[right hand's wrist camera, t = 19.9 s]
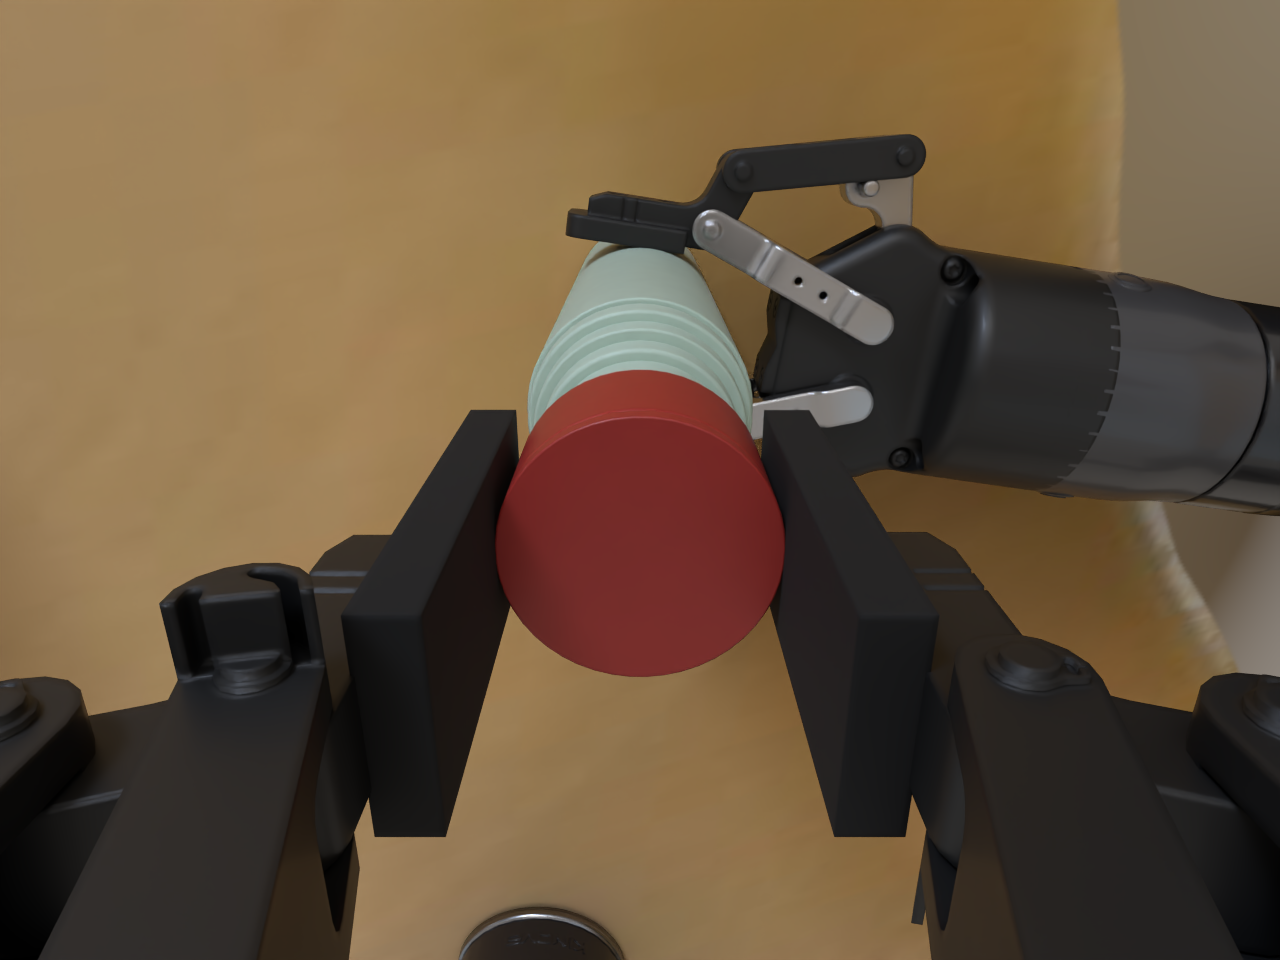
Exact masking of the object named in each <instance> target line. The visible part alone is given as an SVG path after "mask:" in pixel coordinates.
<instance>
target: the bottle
mask: <svg viewBox="0 0 1280 960" xmlns="http://www.w3.org/2000/svg"><path fill="white" fill-rule="evenodd" d="M626 370H655V371H662V372H668V373H672V374H675V375H679V376H682V377H685V378H687V379H690V380H692V381H695V382H697V383H699V384H701V385H703V386H704V387H706V388H708V389H709V390H711V391H713V392H714V393H715V394H717V395H718V396H719V397H720V398H722V399H723V400H724V401H725V402H727V404H728V405H729V406H730V407H731V408H732V409H733V410H734V411H735V412H736V413H737V414H738V415H739V417H740V418H741V420H742V421H743V422H744V424H745V425H746V427H747V429H748V430H749V432H750V434H751V429H752V413H753V396H752V390H751V383H750V379H749V376H748V373H747V369H746V367H745V365H744V363H743V360H742V358H741V356H740V354H739V352H738V350H737V347H736V345H735V343H734V341H733V339H732V337H731V335H730V333H729V331H728V328H727V326H726V324H725V322H724V320H723V318H722V316H721V314H720V311H719V309H718V307H717V305H716V303H715V301H714V299H713V297H712V295H711V292H710V290H709V288H708V286H707V284H706V282H705V280H704V278H703V275H702V273H701V271H700V269H699V267H698V265H697V263H696V261H695V259H694V257H693V255H692V254H691V252H690V251H689V249H688V248H687V247H685V251H684V254H678V253H672V252H665V251H660V250H655V249H650V248H639V247H633V246H626V245H619V244H613V243H606V242H600V241H599V242H598V243H597V244H596V245H595V246H594V247H593V249H592V250H591V251H590V253H589V254H588V256H587V257H586V259H585V261H584V263H583V265H582V268H581V270H580V272H579V274H578V276H577V278H576V280H575V282H574V285H573V287H572V289H571V291H570V293H569V295H568V297H567V299H566V302H565V304H564V306H563V308H562V310H561V312H560V314H559V316H558V319H557V321H556V323H555V325H554V327H553V329H552V331H551V333H550V336H549V338H548V340H547V342H546V344H545V346H544V348H543V350H542V353H541V355H540V357H539V359H538V361H537V363H536V366H535V368H534V371H533V374H532V377H531V381H530V386H529V392H528V426H529V434H530V433H531V431H532V429H533V428H534V426H535V424H536V423H537V421H538V420H539V419H540V417H541V416H542V415H543V414H544V412H545V411H546V410H547V409H548V408H549V407H550V406H551V405H552V404H553V403H554V402H555V401H556V400H557V399H558V398H560V397H561V396H563V395H564V394H565V393H567V392H568V391H569V390H571V389H573V388H574V387H576V386H578V385H580V384H582V383H583V382H585V381H588V380H591V379H593V378H596V377H598V376H601V375H605V374H609V373H613V372H617V371H626Z"/></svg>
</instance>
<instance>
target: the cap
mask: <svg viewBox="0 0 1280 960" xmlns="http://www.w3.org/2000/svg"><path fill="white" fill-rule="evenodd" d="M495 552H496V565H497V571H498V576H499V579H500V582H501V585H502V588H503V591H504V593H505V595H506V597H507V599H508V601H509V603H510V605H511V607H512V609H513V610H514V612H515V613H516V614H517V616H518V617H519V619H520V620H521V622H522V623H523V624H524V625H525V626H526V627H527V628H528V630H529V631H530V632H531V633H532V634H533V635H534V636H535V637H536V638H537V639H539V640H540V641H541V642H542V643H543V644H545V645H546V646H547V647H548V648H550V649H551V650H553V651H554V652H556V653H558V654H559V655H561V656H562V657H564V658H566V659H568V660H570V661H572V662H574V663H576V664H578V665H581V666H584V667H587V668H589V669H592V670H595V671H600V672H604V673H608V674H613V675H621V676H629V677H650V676H660V675H667V674H672V673H677V672H682V671H685V670H688V669H691V668H694V667H697V666H700V665H702V664H704V663H706V662H708V661H710V660H713V659H715V658H716V657H718V656H720V655H721V654H723V653H724V652H726V651H728V650H729V649H731V648H732V647H733V646H734V645H736V644H737V643H738V642H740V641H741V640H742V639H743V638H744V637H745V636H746V635H747V634H748V633H749V632H750V631H751V630H752V629H753V628H754V627H755V626H756V625H757V623H758V622H759V621H760V619H761V618H762V617H763V615H764V614H765V613H766V611H767V609H768V607H769V606H770V604H771V602H772V600H773V599H774V597H775V594H776V591H777V589H778V586H779V584H780V581H781V577H782V573H783V567H784V554H785V528H784V523H783V519H782V514H781V511H780V508H779V506H778V503H777V500H776V497H775V495H774V492H773V490H772V487H771V484H770V482H769V479H768V476H767V474H766V471H765V469H764V466H763V463H762V461H761V458H760V456H759V453H758V450H757V448H756V445H755V442H754V440H753V438H752V436H751V434H750V432H749V430H748V429H747V427H746V425H745V424H744V422H743V421H742V420H741V418H740V417H739V415H738V414H737V413H736V412H735V411H734V410H733V409H732V408H731V407H730V406H729V405H728V404H727V402H725V401H724V400H723V399H722V398H720V397H719V396H718V395H717V394H715V393H714V392H713V391H711V390H709V389H708V388H706V387H704V386H703V385H701V384H699V383H697V382H695V381H692V380H690V379H687V378H685V377H682V376H679V375H675V374H672V373H668V372H662V371H655V370H626V371H617V372H613V373H609V374H605V375H601V376H598V377H596V378H593V379H591V380H588V381H585V382H583V383H582V384H580V385H578V386H576V387H574V388H573V389H571V390H569V391H568V392H567V393H565V394H564V395H563V396H561V397H560V398H558V399H557V400H556V401H555V402H554V403H553V404H552V405H551V406H550V407H549V408H548V409H547V410H546V411H545V412H544V414H543V415H542V416H541V417H540V419H539V420H538V421H537V423H536V424H535V426H534V428H533V429H532V431H531V433H530V435H529V436H528V439H527V441H526V444H525V446H524V449H523V451H522V454H521V457H520V459H519V462H518V464H517V467H516V470H515V472H514V475H513V478H512V480H511V483H510V485H509V488H508V491H507V493H506V496H505V499H504V501H503V504H502V506H501V509H500V513H499V517H498V521H497V525H496V533H495Z"/></svg>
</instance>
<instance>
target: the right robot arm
mask: <svg viewBox="0 0 1280 960" xmlns="http://www.w3.org/2000/svg"><path fill="white" fill-rule="evenodd" d="M761 461H762V463H763V466H764V469H765V471H766V474H767V476H768V479H769V482H770V484H771V487H772V490H773V492H774V495H775V497H776V500H777V503H778V506H779V508H780V511H781V514H782V519H783V523H784V528H785V554H784V567H783V573H782V577H781V581H780V584H779V586H778V589H777V591H776V594H775V597H774V599H773V600H772V602H771V604H770V609H771V612H772V616H773V619H774V623H775V627H776V630H777V634H778V637H779V641H780V644H781V648H782V652H783V655H784V659H785V662H786V666H787V669H788V673H789V677H790V680H791V684H792V687H793V691H794V694H795V698H796V702H797V705H798V709H799V712H800V716H801V719H802V723H803V727H804V730H805V734H806V737H807V741H808V744H809V748H810V752H811V755H812V759H813V762H814V766H815V769H816V773H817V777H818V780H819V784H820V787H821V791H822V794H823V798H824V802H825V805H826V809H827V812H828V816H829V819H830V823H831V827H832V830H833V834H834V837H905V836H906V830H907V823H908V817H909V810H910V804H911V797H912V795H913V798H914V800H915V803H916V805H917V807H918V810H919V812H920V815H921V817H922V819H923V822H924V824H925V827H926V835H925V841H924V847H923V853H922V859H921V865H920V871H919V878H918V884H917V890H916V896H915V902H914V908H913V915H912V921H911V923H915V924H920V925H923V919H924V914H925V909H926V918H927V926H928V934H929V942H930V951H931V959H932V960H1280V677H1276V676H1271V675H1257V674H1245V673H1231V674H1224V675H1218V676H1213V677H1212V678H1210V679H1209V680H1208V681H1207V682H1205V683H1204V684H1203V685H1201V687H1200V691H1199V694H1198V697H1197V701H1196V704H1195V707H1194V711H1193V712H1188V711H1183V710H1178V709H1172V708H1167V707H1162V706H1156V705H1151V704H1146V703H1140V702H1135V701H1130V700H1126V699H1122V698H1118V697H1114V696H1110V694H1109V692H1108V690H1107V688H1106V686H1105V684H1104V682H1103V680H1102V678H1101V677H1100V676H1099V675H1098V674H1097V672H1096V671H1095V670H1094V669H1093V668H1092V666H1091V665H1090V664H1089V663H1088V662H1086V661H1084V660H1083V659H1081V658H1080V657H1078V656H1077V655H1075V654H1074V653H1072V652H1071V651H1069V650H1067V649H1065V648H1062V647H1060V646H1057V645H1055V644H1052V643H1049V642H1047V641H1044V640H1042V639H1037V638H1032V637H1027V636H1022V634H1021V633H1020V632H1019V630H1018V629H1017V628H1016V627H1015V625H1014V624H1013V623H1012V621H1011V620H1010V619H1009V618H1008V616H1007V615H1006V614H1005V612H1004V611H1003V610H1002V609H1001V607H1000V606H999V605H998V603H997V602H996V601H995V600H994V598H993V597H992V596H991V594H990V593H989V592H988V591H987V590H984V585H983V584H982V583H981V582H980V580H979V579H978V578H977V576H976V575H975V574H974V573H971V569H970V567H969V566H968V565H967V564H966V562H965V561H964V560H963V558H962V557H961V556H960V555H959V553H958V552H957V551H956V549H954V548H952V547H951V546H949V545H947V544H946V543H944V542H942V541H941V540H939V539H937V538H936V537H934V536H932V535H931V534H929V533H927V532H886V530H885V529H884V527H883V525H882V524H881V522H880V521H879V519H878V518H877V516H876V514H875V513H874V511H873V510H872V508H871V507H870V505H869V503H868V502H867V500H866V499H865V497H864V495H863V494H862V492H861V491H860V489H859V488H858V486H857V484H856V483H855V481H854V480H853V478H852V477H851V475H850V473H849V472H848V470H847V469H846V467H845V466H844V464H843V462H842V461H841V459H840V458H839V456H838V454H837V453H836V451H835V450H834V448H833V447H832V445H831V443H830V442H829V440H828V439H827V437H826V436H825V434H824V432H823V431H822V429H821V428H820V426H819V425H818V423H817V421H816V420H815V418H814V417H813V415H812V413H811V412H810V410H764V419H763V436H762V454H761ZM518 462H519V452H518V434H517V417H516V410H471V411H470V412H469V414H468V415H467V417H466V418H465V420H464V422H463V423H462V425H461V426H460V428H459V429H458V431H457V433H456V434H455V436H454V437H453V439H452V440H451V442H450V444H449V445H448V447H447V448H446V450H445V451H444V453H443V455H442V456H441V458H440V459H439V461H438V463H437V464H436V466H435V467H434V469H433V470H432V472H431V474H430V475H429V477H428V478H427V480H426V481H425V483H424V485H423V486H422V488H421V489H420V491H419V492H418V494H417V496H416V497H415V499H414V500H413V502H412V504H411V505H410V507H409V508H408V510H407V511H406V513H405V515H404V516H403V518H402V519H401V521H400V522H399V524H398V526H397V527H396V529H395V530H394V532H393V533H392V535H353V536H351V537H349V538H348V539H346V540H344V541H343V542H341V543H339V544H338V545H336V546H334V547H333V548H331V549H330V550H328V551H326V552H325V553H324V554H323V556H322V557H321V558H320V559H319V561H318V562H317V563H316V565H315V566H314V567H313V569H312V570H311V571H310V575H309V574H308V573H306V572H305V571H303V570H302V569H301V568H299V567H295V566H290V565H286V564H281V563H251V564H245V565H239V566H233V567H227V568H223V569H220V570H217V571H213V572H210V573H207V574H204V575H201V576H198V577H196V578H194V579H192V580H190V581H188V582H186V583H185V584H183V585H181V586H179V587H177V588H175V589H173V590H172V591H171V592H170V593H169V594H168V595H167V596H166V597H165V598H164V599H163V600H162V601H161V602H160V603H159V605H160V609H161V613H162V617H163V621H164V625H165V629H166V633H167V637H168V642H169V646H170V650H171V654H172V658H173V662H174V666H175V670H176V674H177V678H178V681H177V683H176V685H175V687H174V689H173V691H172V693H171V695H170V697H169V699H168V700H166V701H162V702H158V703H154V704H149V705H144V706H139V707H133V708H128V709H123V710H118V711H112V712H107V713H102V714H96V715H91V716H88V713H87V710H86V707H85V703H84V700H83V697H82V693H81V690H80V689H79V688H77V687H76V686H75V685H74V684H72V683H71V682H70V681H68V680H64V679H58V678H51V677H35V678H24V679H19V678H18V679H10V680H5V681H0V960H349V953H350V944H351V936H352V928H353V920H354V911H355V903H356V895H357V886H358V878H359V870H360V867H359V860H358V854H357V847H356V841H355V835H354V831H355V829H356V826H357V824H358V822H359V819H360V817H361V814H362V812H363V810H364V807H365V805H366V802H367V800H368V797H369V803H370V810H371V816H372V822H373V829H374V835H375V837H446V834H447V830H448V827H449V823H450V820H451V816H452V813H453V809H454V805H455V802H456V798H457V795H458V791H459V788H460V784H461V780H462V777H463V773H464V770H465V766H466V763H467V759H468V755H469V752H470V748H471V745H472V741H473V738H474V734H475V730H476V727H477V723H478V720H479V716H480V713H481V709H482V705H483V702H484V698H485V695H486V691H487V688H488V684H489V681H490V677H491V673H492V670H493V666H494V663H495V659H496V656H497V652H498V648H499V645H500V641H501V638H502V634H503V631H504V627H505V623H506V620H507V616H508V613H509V609H510V606H511V605H510V603H509V601H508V599H507V597H506V595H505V593H504V591H503V588H502V585H501V582H500V579H499V576H498V571H497V565H496V552H495V533H496V525H497V521H498V517H499V513H500V509H501V506H502V504H503V501H504V499H505V496H506V493H507V491H508V488H509V485H510V483H511V480H512V478H513V475H514V472H515V470H516V467H517V464H518Z"/></svg>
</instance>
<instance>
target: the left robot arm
mask: <svg viewBox="0 0 1280 960" xmlns="http://www.w3.org/2000/svg"><path fill="white" fill-rule="evenodd" d="M925 158H926V149H925V146H924V144H923V142H922V141H921V140H920V139H919V138H918V137H916V136H914V135H910V134H903V135H880V136H869V137H859V138H848V139H838V140H827V141H817V142H806V143H796V144H785V145H775V146H764V147H754V148H743V149H733V150H729V151H727V152H725V153H724V154H723V155H722V156H721V157H720V159H719V161H718V163H717V167H716V171H715V173H714V175H713V176H712V178H711V180H710V182H709V184H708V186H707V187H706V189H705V191H704V192H703V194H702V195H701V196H700V197H698V198H697V199H695V200H693V201H691V202H686V203H681V202H674V201H668V200H661V199H655V198H648V197H642V196H636V195H629V194H623V193H617V192H610V191H607V192H603V193H599V194H595V195H592V196H591V197H590V198H589V205H588V210H584V209H570V210H569V211H568V217H567V226H566V235H567V236H570V237H575V238H580V239H587V240H593V241H600V242H606V243H613V244H619V245H626V246H633V247H639V248H650V249H655V250H660V251H665V252H672V253H678V254H684V251H685V247H688V248H694V249H701V250H706V251H708V252H710V253H711V254H713V255H715V256H717V257H718V258H720V259H722V260H723V261H725V262H727V263H729V264H730V265H732V266H734V267H736V268H737V269H739V270H741V271H743V272H744V273H746V274H748V275H749V276H751V277H752V278H754V279H755V280H757V281H758V282H760V283H762V284H763V285H765V286H767V287H768V288H770V289H771V290H770V295H769V300H768V305H767V327H768V334H767V336H766V338H765V340H764V342H763V344H762V347H761V349H760V351H759V353H758V355H757V359H756V364H755V369H754V374H751V375H748V376H749V379H750V383H751V390H752V396H753V413H752V429H751V436H752V438H753V440H754V439H759V438H762V436H763V419H764V410H810V412H811V413H812V415H813V417H814V418H815V420H816V421H817V423H818V425H819V426H820V428H821V429H822V431H823V432H824V434H825V436H826V437H827V439H828V440H829V442H830V443H831V445H832V447H833V448H834V450H835V451H836V453H837V454H838V456H839V458H840V459H841V461H842V462H843V464H844V466H845V467H846V469H847V470H848V472H849V473H850V475H851V477H857V476H860V475H863V474H866V473H868V472H872V471H877V470H885V469H889V470H897V471H902V472H907V473H912V474H918V475H926V476H933V477H940V478H947V479H955V480H962V481H969V482H976V483H983V484H990V485H997V486H1004V487H1011V488H1018V489H1026V490H1033V491H1037V492H1040V493H1041V494H1043V495H1047V496H1052V497H1059V498H1066V497H1074V496H1075V497H1083V498H1091V499H1100V500H1110V501H1163V502H1174V503H1180V504H1187V505H1194V506H1201V507H1208V508H1215V509H1223V510H1229V511H1236V512H1243V513H1250V514H1260V515H1270V516H1280V307H1274V306H1268V305H1262V304H1255V303H1249V302H1242V301H1236V300H1229V299H1224V298H1219V297H1215V296H1211V295H1207V294H1204V293H1200V292H1197V291H1194V290H1191V289H1188V288H1185V287H1182V286H1179V285H1175V284H1172V283H1168V282H1163V281H1158V280H1153V279H1149V278H1143V277H1138V276H1135V275H1132V274H1128V273H1122V272H1117V273H1111V272H1104V271H1098V270H1091V269H1085V268H1078V267H1072V266H1066V265H1060V264H1053V263H1046V262H1040V261H1034V260H1027V259H1021V258H1015V257H1008V256H1002V255H996V254H989V253H983V252H977V251H970V250H964V249H958V248H951V247H946V246H941V245H938V244H937V243H935V242H933V241H932V240H931V239H929V238H928V237H927V236H926V235H925V234H924V233H923V232H922V231H920V230H919V229H917V228H915V227H913V226H912V208H913V176H914V175H915V174H916V173H917V172H918V171H919V170H920V169H921V168H922V166H923V164H924V162H925ZM836 184H839V189H840V194H841V196H842V198H843V199H844V200H845V201H846V202H847V203H848V204H851V205H854V206H857V207H863V208H867V209H869V210H870V211H871V213H872V214H873V216H874V219H875V225H874V226H872V227H870V228H868V229H866V230H864V231H863V232H861V233H859V234H857V235H855V236H853V237H851V238H849V239H847V240H845V241H843V242H841V243H839V244H837V245H835V246H833V247H831V248H829V249H828V250H826V251H824V252H822V253H820V254H818V255H816V256H814V257H812V258H810V259H808V260H806V259H805V258H803V257H801V256H800V255H798V254H796V253H795V252H793V251H791V250H789V249H788V248H786V247H784V246H783V245H781V244H779V243H777V242H776V241H774V240H772V239H771V238H769V237H767V236H765V235H764V234H762V233H760V232H758V231H757V230H755V229H753V228H751V227H750V226H748V225H746V224H745V223H743V222H741V221H739V220H738V219H739V217H740V215H741V214H742V212H743V210H744V208H745V206H746V205H747V203H748V201H749V199H750V198H751V196H752V194H753V192H761V191H771V190H782V189H793V188H803V187H814V186H825V185H836ZM755 391H758V393H754V392H755ZM459 960H624V959H623V955H622V952H621V950H620V948H619V946H618V944H617V943H616V941H615V940H614V939H613V937H612V936H611V935H610V934H609V933H608V932H607V931H606V930H605V929H603V928H602V927H601V926H600V925H598V924H597V923H595V922H593V921H592V920H590V919H588V918H586V917H584V916H582V915H579V914H576V913H573V912H570V911H567V910H562V909H557V908H549V907H528V908H520V909H515V910H510V911H507V912H504V913H501V914H498V915H496V916H494V917H492V918H490V919H488V920H486V921H485V922H483V923H482V924H480V925H479V926H478V927H476V928H475V929H474V930H473V931H472V932H471V934H470V935H469V936H468V937H467V939H466V941H465V942H464V944H463V946H462V949H461V952H460V956H459Z"/></svg>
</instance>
